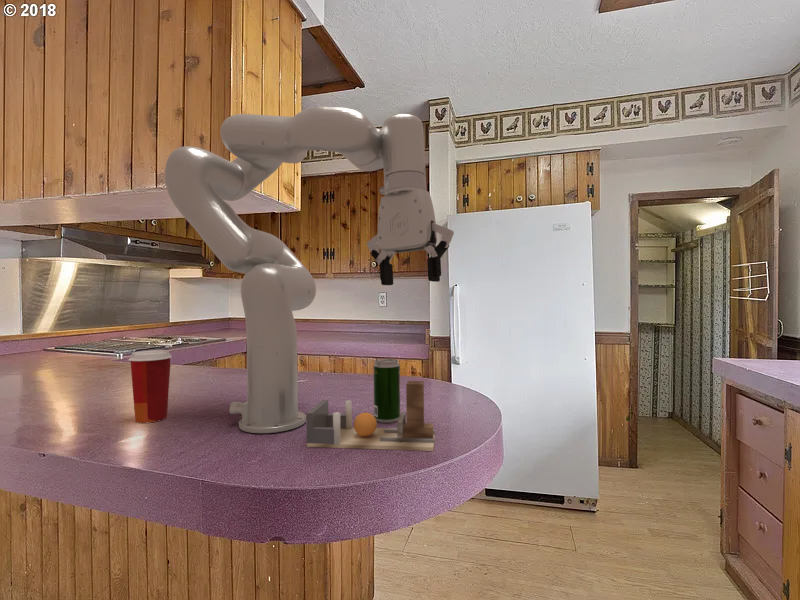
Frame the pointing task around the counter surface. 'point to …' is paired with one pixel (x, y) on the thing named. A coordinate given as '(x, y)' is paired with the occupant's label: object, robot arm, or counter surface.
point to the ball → (365, 424)
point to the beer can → (386, 390)
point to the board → (380, 441)
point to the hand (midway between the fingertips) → (410, 283)
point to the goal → (327, 423)
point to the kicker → (414, 414)
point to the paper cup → (150, 384)
